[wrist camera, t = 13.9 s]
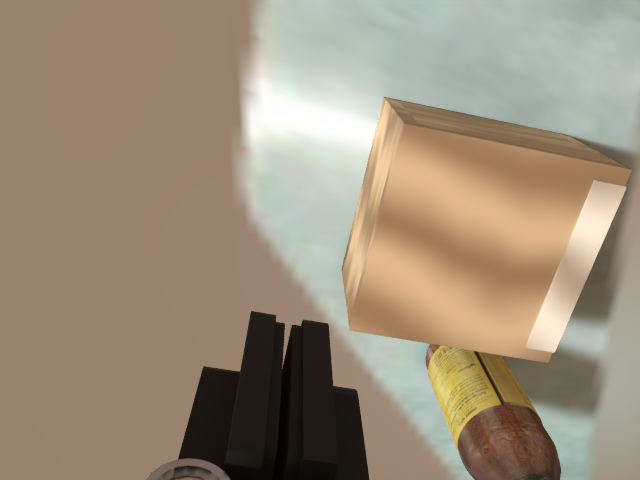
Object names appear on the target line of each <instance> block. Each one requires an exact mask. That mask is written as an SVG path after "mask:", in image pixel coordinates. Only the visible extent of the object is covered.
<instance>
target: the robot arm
mask: <svg viewBox="0 0 640 480" xmlns="http://www.w3.org/2000/svg"><path fill="white" fill-rule="evenodd" d="M284 330H285V324H284V323H279V322H276V315H271V314H265V313H260V312H254V311H251V315H250V321H249V326H248V331H247V337H246V342H245V348H244V354H243V359H242V365H241V370H240V372H237V371H231V370H224V369H218V368H211V367H203V370H202V374H201V377H200V381H199V384H198V388H197V392H196V395H195V399H194V403H193V407H192V410H191V414H190V418H189V421H188V425H187V428H186V432H185V436H184V440H183V443H182V447H181V450H180V454H179V458H178V460H174V461H171V462H168V463H166V464H163V465H161V466H160V467H158V468H157V469H156V470H154V471H153V472H152V473H151V474H150V475H149V476H148V478H147V479H146V480H369V474H368V466H367V459H366V451H365V444H364V436H363V429H362V421H361V414H360V406H359V399H358V393H357V391H356V390H355V389H349V388H343V387H337V386H333V379H332V365H331V352H330V338H329V325H328V324H327V323H321V322H315V321H308V320H303V321H302V324H301V326H298V325H292V327H291V332H290V336H289V341H288V345H287V350H286V355H285V359H284V364H283V369H282V363H283V346H284Z"/></svg>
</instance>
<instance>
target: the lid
mask: <svg viewBox="0 0 640 480" xmlns="http://www.w3.org/2000/svg"><path fill="white" fill-rule="evenodd" d="M631 172H632V170H631V169H629V168H628V167H626V166H624V165H619V164H615V163H610V162H605V161H600V160H595V159H590V158H585V157H580V156H575V155H570V154H566V153H561V152H556V151H551V150H546V149H541V148H536V147H531V146H526V145H522V144H517V143H512V142H507V141H502V140H497V139H492V138H487V137H482V136H477V135H473V134H468V133H463V132H458V131H453V130H448V129H443V128H438V127H433V126H429V125H424V124H419V123H414V122H409V121H404V120H402V121H401V125H400V129H399V132H398V136H397V140H396V144H395V148H394V152H393V155H392V159H391V163H390V167H389V171H388V174H387V178H386V182H385V186H384V190H383V194H382V197H381V201H380V205H379V209H378V213H377V217H376V220H375V224H374V228H373V232H372V236H371V240H370V243H369V247H368V251H367V255H366V259H365V263H364V266H363V270H362V274H361V278H360V282H359V286H358V289H357V293H356V297H355V301H354V305H353V308H352V312H351V316H350V320H349V327H350V331H356V332H362V333H368V334H375V335H381V336H387V337H393V338H399V339H405V340H411V341H417V342H423V343H429V344H435V345H441V346H448V347H454V348H460V349H466V350H472V351H478V352H484V353H490V354H496V355H502V356H508V357H514V358H521V359H527V360H533V361H539V362H545V363H548V362H549V360H550V358H551V355H552V353H555V351H556V348H557V346H558V344H559V341H560V339H561V337H562V335H563V332H564V330H565V328H566V325H567V323H568V321H569V319H570V316H571V314H572V312H573V309H574V307H575V305H576V303H577V300H578V298H579V296H580V293H581V291H582V289H583V287H584V284H585V282H586V280H587V277H588V275H589V273H590V271H591V268H592V266H593V264H594V261H595V259H596V257H597V255H598V252H599V250H600V248H601V245H602V243H603V241H604V239H605V236H606V234H607V232H608V229H609V227H610V225H611V223H612V220H613V218H614V216H615V213H616V211H617V209H618V207H619V204H620V202H621V200H622V197H623V195H624V193H625V191H626V188H627V186H626V183H627V181H628V179H629V176H630V174H631Z"/></svg>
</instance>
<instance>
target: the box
mask: <svg viewBox="0 0 640 480" xmlns="http://www.w3.org/2000/svg"><path fill="white" fill-rule="evenodd" d="M402 120H404V121H409V122H414V123H419V124H424V125H429V126H433V127H438V128H443V129H448V130H453V131H458V132H463V133H468V134H473V135H477V136H482V137H487V138H492V139H497V140H502V141H507V142H512V143H517V144H522V145H526V146H531V147H536V148H541V149H546V150H551V151H556V152H561V153H566V154H570V155H575V156H580V157H585V158H590V159H595V160H600V161H605V162H610V163H615V164H619V165H622V164H620V163H618V162H616V161H615V160H613V159H611V158H609V157H607V156H605V155H603V154H601V153H600V152H598V151H596V150H594V149H592V148H590V147H588V146H586V145H585V144H583V143H581V142H579V141H577V140H575V139H573V138H572V137H570V136H568V135H565V134H560V133H555V132H550V131H545V130H540V129H536V128H531V127H526V126H521V125H516V124H511V123H507V122H502V121H497V120H492V119H487V118H483V117H478V116H473V115H468V114H463V113H458V112H454V111H449V110H444V109H439V108H434V107H429V106H425V105H420V104H415V103H410V102H405V101H401V100H396V99H391V98H386V97H384V99H383V103H382V107H381V111H380V115H379V119H378V123H377V127H376V131H375V135H374V140H373V144H372V148H371V152H370V156H369V160H368V164H367V168H366V172H365V176H364V180H363V184H362V189H361V193H360V197H359V201H358V205H357V209H356V213H355V217H354V221H353V225H352V229H351V233H350V238H349V242H348V246H347V250H346V254H345V258H344V262H343V266H342V275H343V283H344V290H345V298H346V305H347V312H348V320H350V316H351V312H352V308H353V305H354V301H355V297H356V293H357V289H358V286H359V282H360V278H361V274H362V270H363V266H364V263H365V259H366V255H367V251H368V247H369V243H370V240H371V236H372V232H373V228H374V224H375V220H376V217H377V213H378V209H379V205H380V201H381V197H382V194H383V190H384V186H385V182H386V178H387V174H388V171H389V167H390V163H391V159H392V155H393V152H394V148H395V144H396V140H397V136H398V132H399V129H400V125H401V121H402Z"/></svg>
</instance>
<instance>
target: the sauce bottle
mask: <svg viewBox="0 0 640 480" xmlns="http://www.w3.org/2000/svg"><path fill="white" fill-rule="evenodd" d="M426 366H427V369H428V375H429V379H430V381H431V384H432V387H433V389H434V392H435V394H436V397H437V399H438V402H439V404H440V407H441V409H442V412H443V414H444V417H445V420H446V422H447V425H448V427H449V430H450V432H451V435H452V437H453V440H454V442H455V445H456V447H457V450H458V452H459V455H460V457H461V460H462V462H463V464H464V466H465V468H466V469H467V471H468V472H469V473H470V475H471V476H472V477H473V478H474V479H475V480H560V474H561V468H560V462H559V458H558V454H557V450H556V447H555V445H554V442H553V441H552V439H551V438H550V436H549V435H548V433H547V431H546V430H545V428H544V427H543V425H542V421H541V419H540V417H539V416H538V414H537V412H536V411H535V409H534V407H533V406H532V404H531V402H530V401H529V399H528V398H527V396H526V394H525V393H524V391H523V389H522V388H521V386H520V384H519V383H518V381H517V379H516V378H515V376H514V375H513V373H512V371H511V370H510V368H509V367H508V365H507V363H506V362H505V360H504V359H503V357H502V355H496V354H490V353H484V352H478V351H472V350H466V349H460V348H454V347H448V346H441V345H435V344H430V346H429V349H428V350H427V355H426Z"/></svg>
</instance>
